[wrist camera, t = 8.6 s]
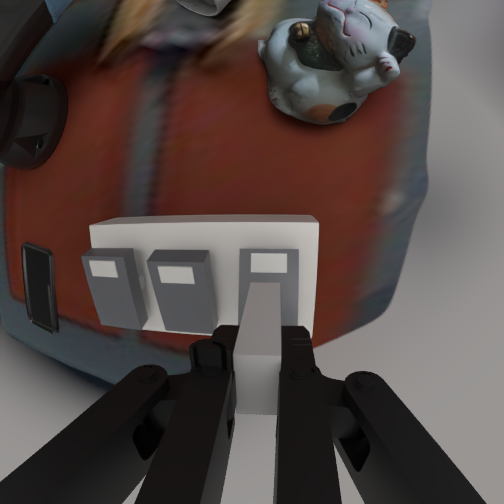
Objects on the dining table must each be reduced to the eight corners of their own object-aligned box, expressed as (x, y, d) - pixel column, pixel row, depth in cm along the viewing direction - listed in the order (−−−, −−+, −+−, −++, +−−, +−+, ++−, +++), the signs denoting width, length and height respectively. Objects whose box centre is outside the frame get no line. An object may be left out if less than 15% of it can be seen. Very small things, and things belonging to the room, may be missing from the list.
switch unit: (127, 307, 37) (100, 332, 30) (115, 217, 34) (81, 227, 27) (306, 316, 35) (312, 348, 28) (311, 214, 32) (321, 225, 25)
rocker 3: (295, 340, 25) (297, 344, 23) (240, 339, 26) (237, 343, 24) (297, 252, 26) (299, 249, 24) (242, 251, 27) (239, 248, 25)
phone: (28, 320, 39) (21, 241, 36) (32, 318, 40) (25, 240, 37) (57, 336, 39) (50, 252, 35) (61, 333, 40) (55, 250, 36)
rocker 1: (148, 318, 29) (140, 331, 27) (109, 314, 29) (100, 325, 27) (132, 248, 25) (122, 257, 23) (91, 247, 26) (80, 256, 24)
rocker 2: (218, 320, 28) (214, 335, 26) (171, 317, 29) (165, 331, 27) (208, 249, 24) (203, 263, 22) (154, 249, 25) (145, 262, 23)
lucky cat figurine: (253, 24, 27) (304, -57, 13) (338, 49, 30) (401, -9, 17) (258, 123, 26) (338, 31, 13) (357, 143, 30) (452, 93, 17)
